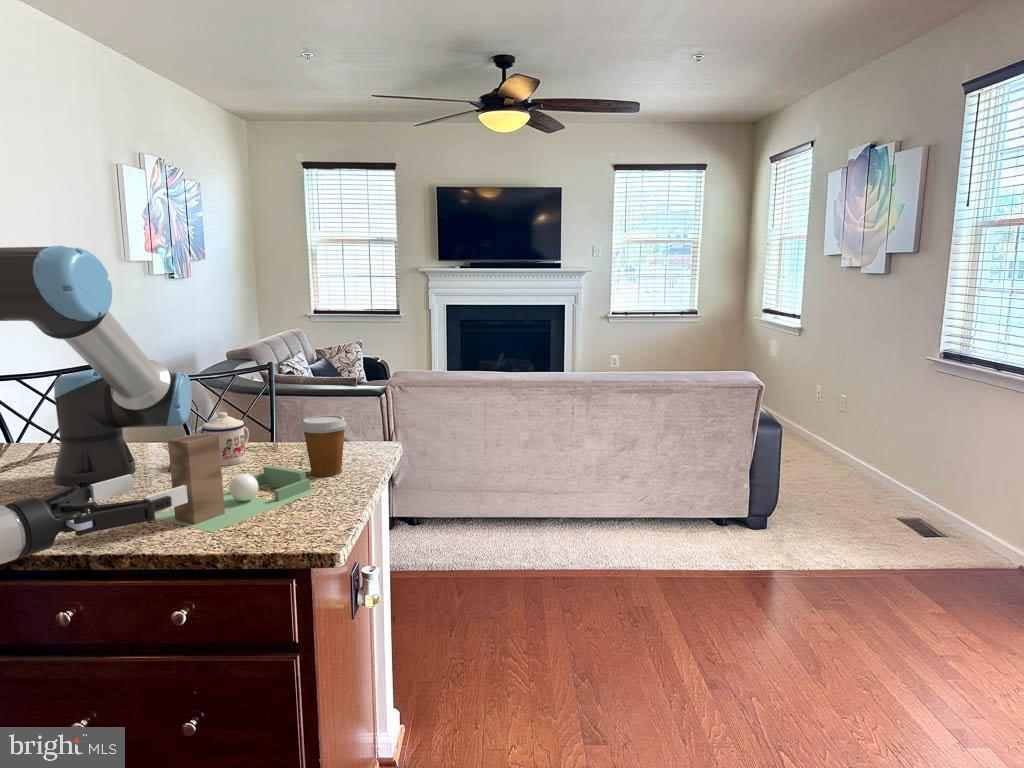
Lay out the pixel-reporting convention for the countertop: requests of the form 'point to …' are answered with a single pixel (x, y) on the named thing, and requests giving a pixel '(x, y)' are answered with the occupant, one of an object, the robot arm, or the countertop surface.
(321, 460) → the disposable coffee cup
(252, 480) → the ball
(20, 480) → the countertop surface
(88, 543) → the countertop surface
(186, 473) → the walnut block
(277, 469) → the pad
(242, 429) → the teacup with lid
